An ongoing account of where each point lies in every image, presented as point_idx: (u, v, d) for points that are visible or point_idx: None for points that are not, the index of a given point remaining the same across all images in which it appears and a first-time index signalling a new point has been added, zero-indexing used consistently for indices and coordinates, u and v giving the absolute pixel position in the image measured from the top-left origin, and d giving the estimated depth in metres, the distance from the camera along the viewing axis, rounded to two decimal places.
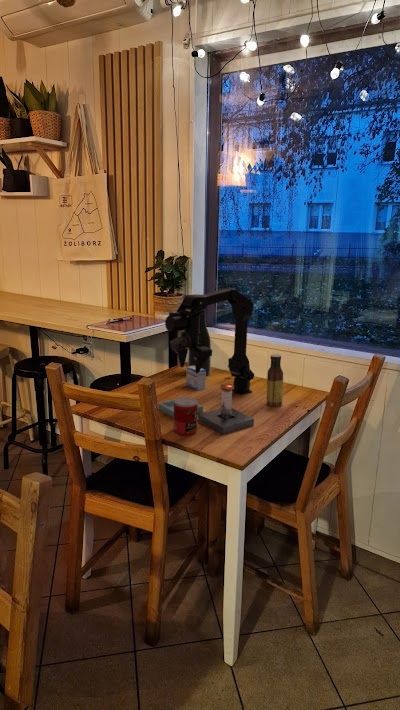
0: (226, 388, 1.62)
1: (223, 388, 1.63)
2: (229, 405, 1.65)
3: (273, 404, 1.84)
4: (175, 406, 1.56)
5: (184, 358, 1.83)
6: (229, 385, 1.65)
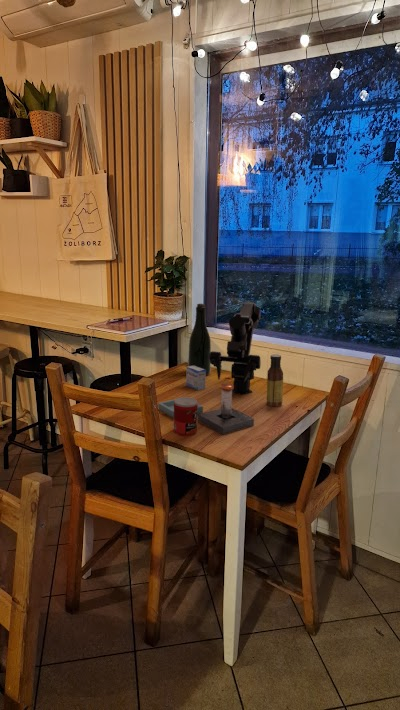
0: (226, 388, 1.62)
1: (223, 388, 1.63)
2: (229, 405, 1.65)
3: (273, 404, 1.84)
4: (175, 406, 1.56)
5: (220, 372, 1.75)
6: (229, 385, 1.65)
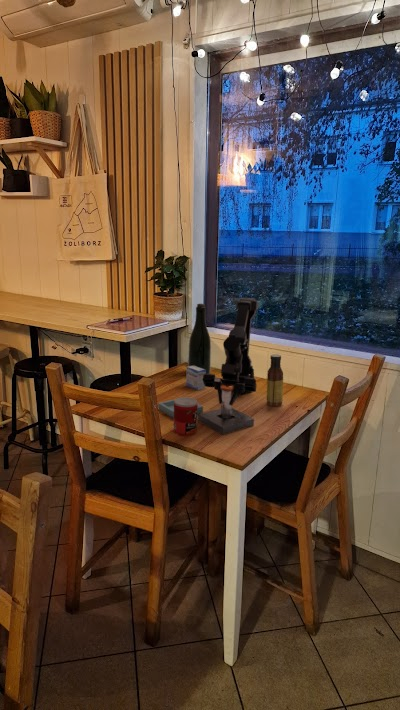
0: (226, 388, 1.62)
1: (223, 388, 1.63)
2: (229, 405, 1.65)
3: (273, 404, 1.84)
4: (175, 406, 1.56)
5: (221, 396, 1.68)
6: (229, 385, 1.65)
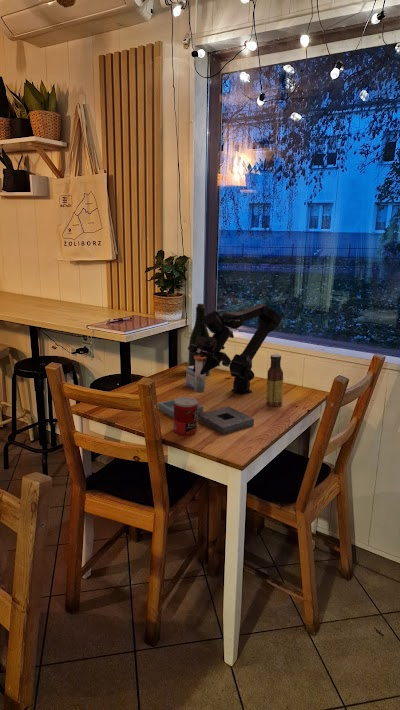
0: (196, 358, 1.77)
1: (194, 357, 1.78)
2: (200, 374, 1.79)
3: (273, 404, 1.84)
4: (175, 406, 1.56)
5: None
6: (202, 356, 1.79)
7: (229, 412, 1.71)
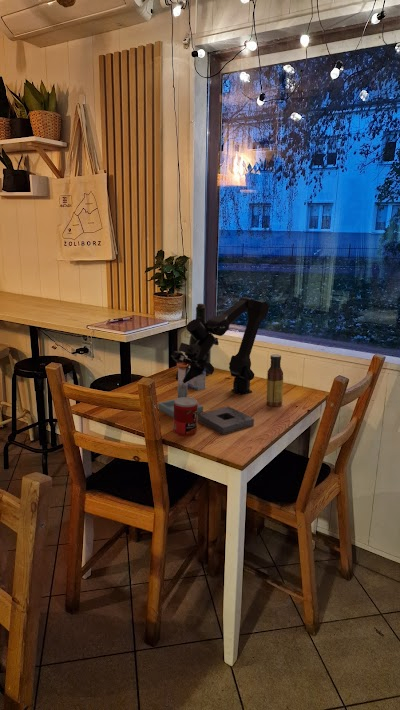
0: (178, 365, 1.72)
1: (177, 365, 1.73)
2: (182, 382, 1.74)
3: (273, 404, 1.84)
4: (175, 406, 1.56)
5: None
6: (185, 363, 1.74)
7: (229, 412, 1.71)
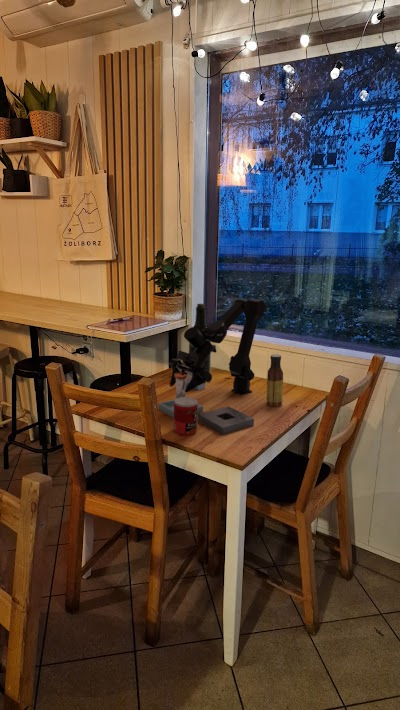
0: (176, 376, 1.72)
1: None
2: (180, 392, 1.74)
3: (273, 404, 1.84)
4: (175, 406, 1.56)
5: None
6: (183, 373, 1.74)
7: (229, 412, 1.71)
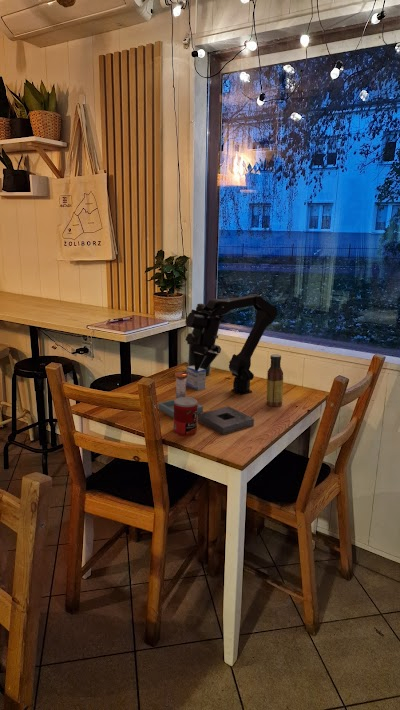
0: (176, 375, 1.73)
1: (175, 375, 1.73)
2: (180, 392, 1.74)
3: (273, 404, 1.84)
4: (175, 406, 1.56)
5: (209, 361, 1.91)
6: (183, 373, 1.74)
7: (229, 412, 1.71)
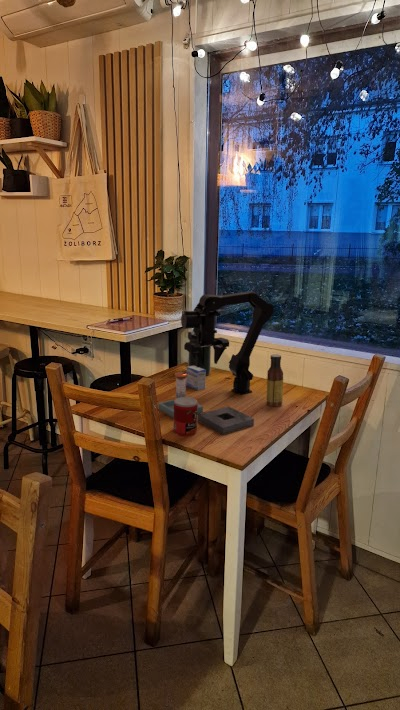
0: (176, 375, 1.73)
1: (175, 375, 1.73)
2: (180, 392, 1.74)
3: (273, 404, 1.84)
4: (175, 406, 1.56)
5: (217, 356, 1.92)
6: (183, 373, 1.74)
7: (229, 412, 1.71)
